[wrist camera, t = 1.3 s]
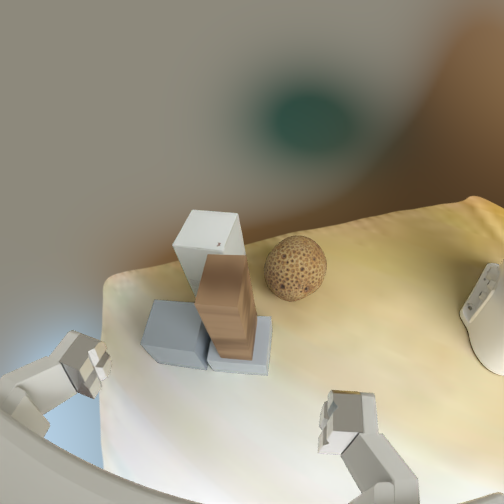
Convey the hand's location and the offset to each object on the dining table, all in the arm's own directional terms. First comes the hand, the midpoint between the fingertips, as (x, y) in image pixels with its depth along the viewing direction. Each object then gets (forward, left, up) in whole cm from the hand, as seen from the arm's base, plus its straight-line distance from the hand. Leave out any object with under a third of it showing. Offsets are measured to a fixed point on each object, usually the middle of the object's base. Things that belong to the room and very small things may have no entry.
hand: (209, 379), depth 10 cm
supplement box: (-15, -22, -30) cm, 40 cm away
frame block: (-9, -11, -26) cm, 30 cm away
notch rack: (-6, -15, -30) cm, 34 cm away
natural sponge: (-21, -12, -30) cm, 39 cm away
